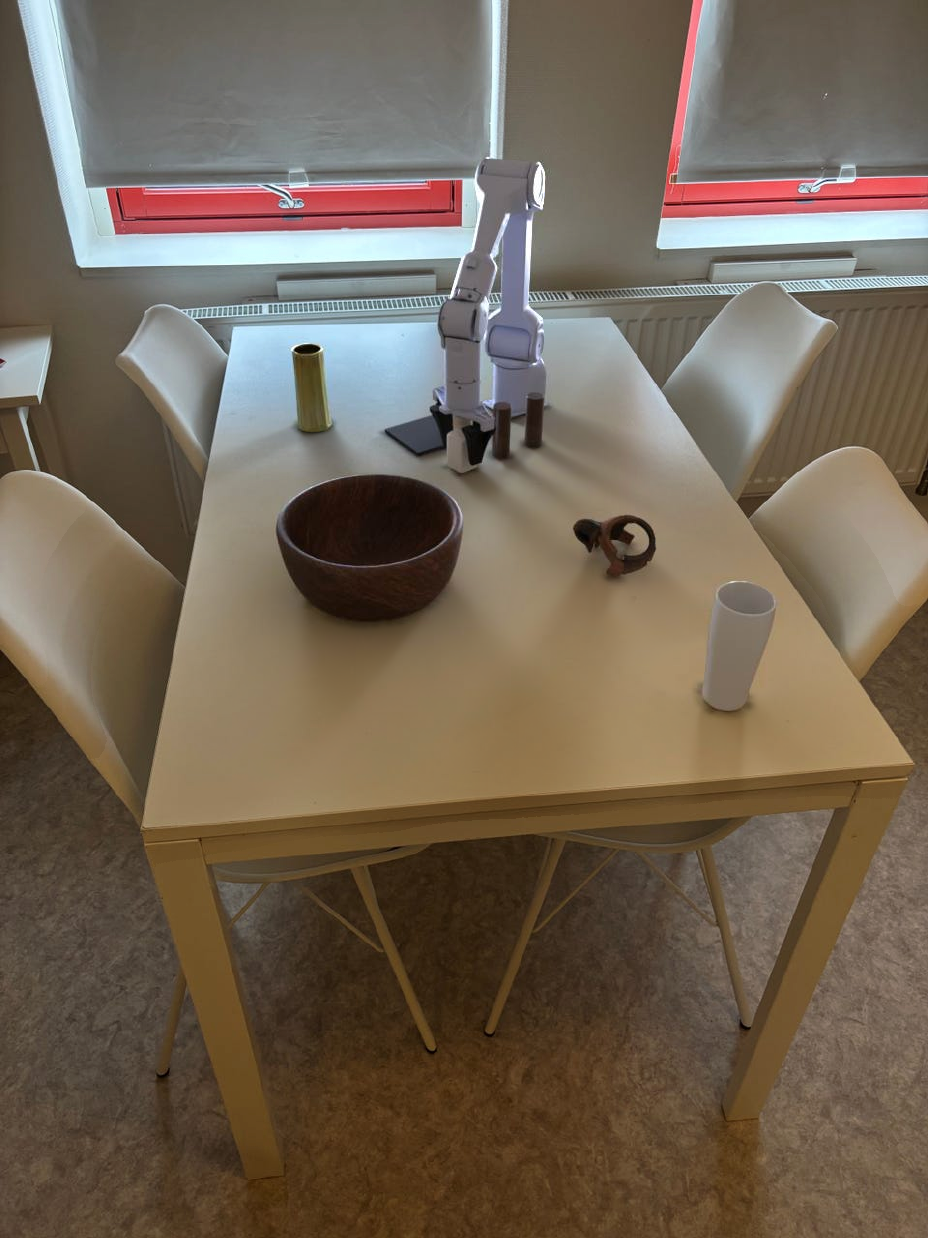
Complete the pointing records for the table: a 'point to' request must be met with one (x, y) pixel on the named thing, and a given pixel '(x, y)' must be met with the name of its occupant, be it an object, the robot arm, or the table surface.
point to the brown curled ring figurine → (614, 530)
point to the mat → (418, 435)
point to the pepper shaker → (458, 446)
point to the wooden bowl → (370, 544)
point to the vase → (310, 388)
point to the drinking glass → (736, 642)
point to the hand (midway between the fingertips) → (462, 454)
